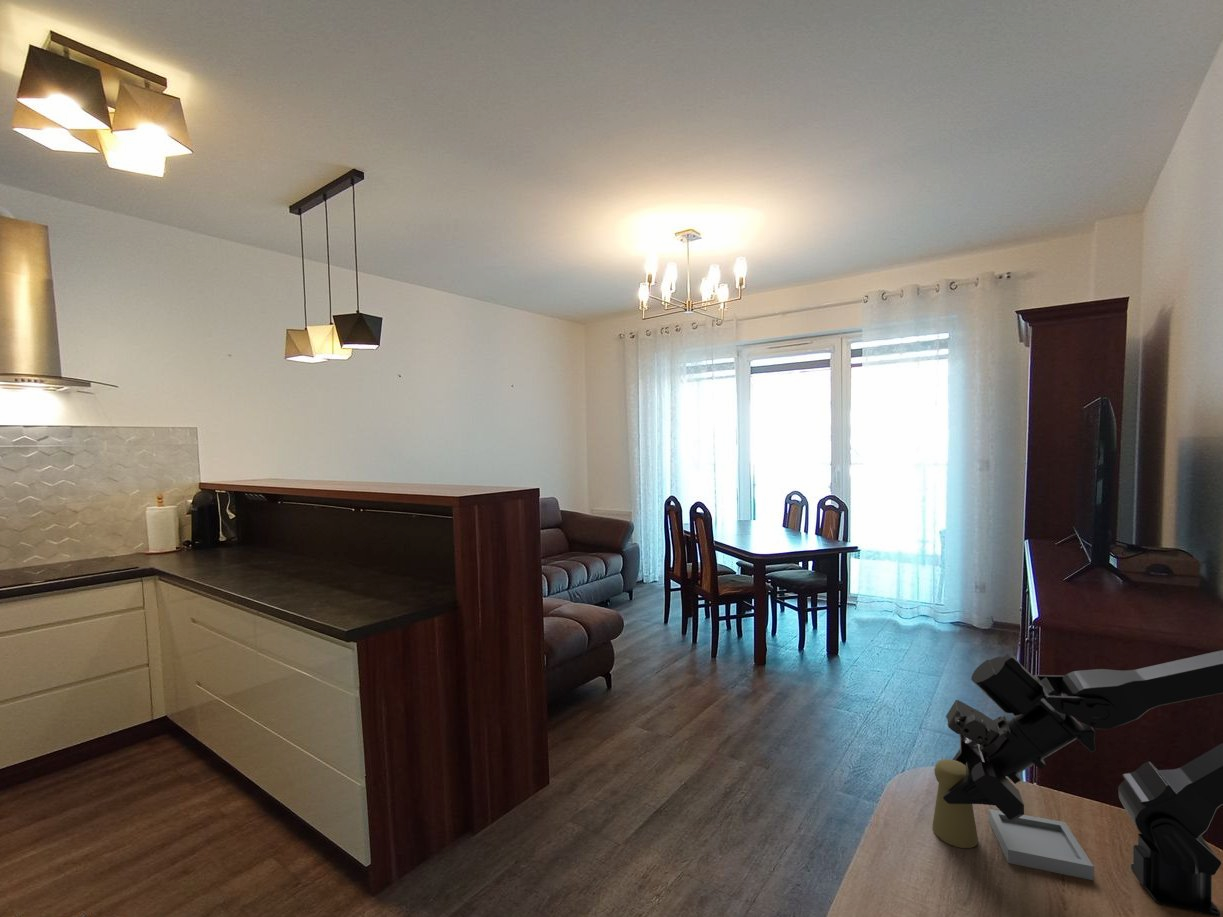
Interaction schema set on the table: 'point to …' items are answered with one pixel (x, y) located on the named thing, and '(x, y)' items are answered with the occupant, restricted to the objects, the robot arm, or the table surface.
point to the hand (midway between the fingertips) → (943, 789)
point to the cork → (953, 808)
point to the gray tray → (1041, 845)
